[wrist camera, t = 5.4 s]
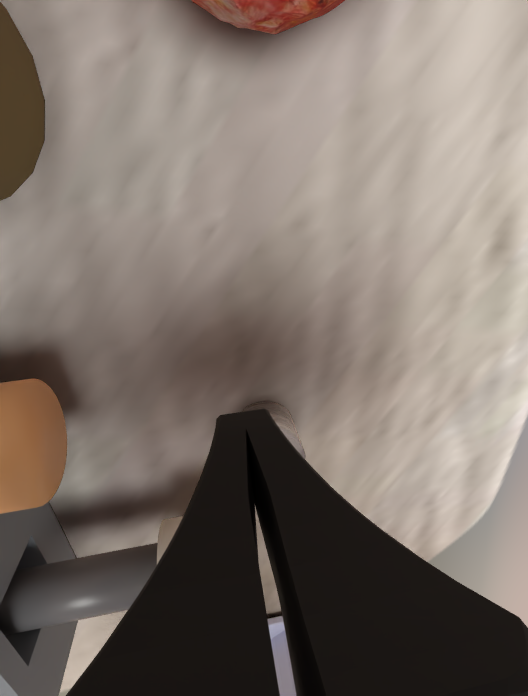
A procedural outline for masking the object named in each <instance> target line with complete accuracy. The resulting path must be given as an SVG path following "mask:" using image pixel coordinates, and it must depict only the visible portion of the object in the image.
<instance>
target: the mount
mask: <svg viewBox="0 0 528 696" xmlns="http://www.w3.org/2000/svg"><path fill="white" fill-rule="evenodd" d="M70 559H76V557H75V555H74V553H73V551H72V549H71V546H70V544H69V542H68V540H67V538H66V536H65V534H64V532H63V530H62V528H61V526H60V524H59V522H58V520H57V518H56V516H55V514H54V512H53V510H52V508H51V506H50V504H49V502H47V503H46V504H44V505H43V506H40V507H36V508H31V509H25V510H19V511H13V512H8V513H2V514H0V604H1V602H2V600H3V598H4V595H5V593H6V591H7V589H8V586H9V584H10V582H11V579H12V577H13V575H14V573H15V570H18V569H23V568H28V567H34V566H39V565H44V564H49V563H55V562H60V561H65V560H70ZM77 622H78V620H77V621H72V622H68V623H63V624H58V625H53V626H48V627H44V628H39V629H34V630H29V631H24V632H20V633H15V634H10V635H5V636H4V634H3V633H2V632H1V630H0V696H58V695H59V692H60V688H61V684H62V680H63V676H64V672H65V668H66V664H67V661H68V657H69V653H70V649H71V645H72V641H73V637H74V634H75V630H76V626H77Z"/></svg>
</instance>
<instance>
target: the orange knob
mask: <svg viewBox="0 0 528 696" xmlns="http://www.w3.org/2000/svg"><path fill="white" fill-rule="evenodd" d="M66 456H67V433H66V425H65V420H64V415H63V412H62V409H61V406H60V403H59V401H58V399H57V397H56V395H55V393H54V392H53V391H52V389H51V388H50V387H49V386H48V385H47V384H46V383H45V382H43V381H41V380H39V379H33V378H32V379H25V380H17V381H10V382H2V383H0V514H2V513H8V512H13V511H19V510H25V509H31V508H36V507H40V506H43V505H44V504H46V503H47V502H48V501H50V500H51V498H52V497H53V496H54V494H55V493H56V491H57V489H58V487H59V485H60V483H61V480H62V477H63V473H64V469H65V464H66Z"/></svg>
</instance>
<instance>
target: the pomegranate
mask: <svg viewBox="0 0 528 696" xmlns="http://www.w3.org/2000/svg"><path fill="white" fill-rule="evenodd" d="M192 1H193V2H194V3H195V4H197V5H199V6H200V7H202V8H203V9H205V10H207V11H208V12H209V13H211V14H212V15H214V16H215V17H216V18H218V19H219V20H220V21H224V22H227V23H230V24H232V25H234V26H236V27H237V28H248V29H251V30H258V31H262V32H266V33H270V34H277V33H280V32H282V31H285V30H287V29H290V28H292V27H294V26H297V25H299V24H301V23H304V22H306V21H308V20H311V19H313V18H317V17H320V16H322V15H324V14H326V13H327V12H329V11H331V10H332V9H334V8H335V7H337V6H338V5H339V4H341V3H342V2H343V1H345V0H192Z"/></svg>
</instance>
